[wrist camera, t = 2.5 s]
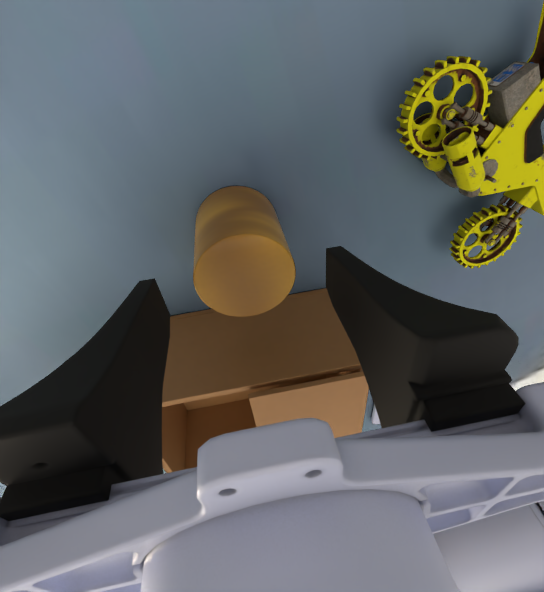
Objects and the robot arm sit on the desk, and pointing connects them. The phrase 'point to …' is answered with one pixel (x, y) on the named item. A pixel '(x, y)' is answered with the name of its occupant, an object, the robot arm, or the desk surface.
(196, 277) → the cylinder
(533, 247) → the desk surface
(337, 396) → the toy box
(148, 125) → the desk surface
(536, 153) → the toy motorcycle
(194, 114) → the desk surface
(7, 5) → the desk surface
